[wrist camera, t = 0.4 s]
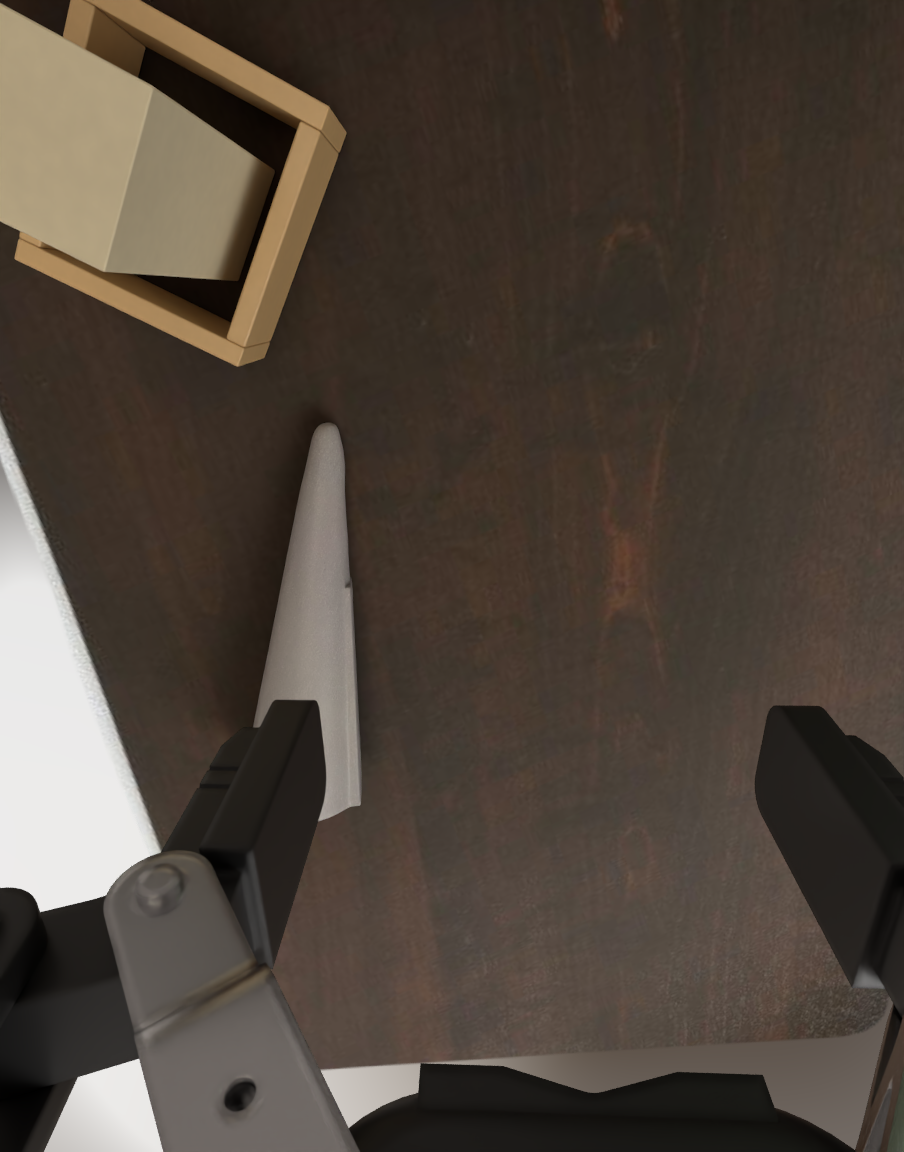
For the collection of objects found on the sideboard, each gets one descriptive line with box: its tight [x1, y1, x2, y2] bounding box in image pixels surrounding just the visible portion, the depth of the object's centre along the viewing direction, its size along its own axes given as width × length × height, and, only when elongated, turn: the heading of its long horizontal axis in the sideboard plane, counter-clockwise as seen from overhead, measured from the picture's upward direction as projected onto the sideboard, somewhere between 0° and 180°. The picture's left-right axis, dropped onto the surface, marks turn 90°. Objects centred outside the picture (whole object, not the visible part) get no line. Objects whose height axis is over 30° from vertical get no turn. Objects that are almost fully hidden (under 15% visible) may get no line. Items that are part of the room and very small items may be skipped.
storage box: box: [15, 0, 347, 366], centre depth 26 cm, size 10×9×4 cm
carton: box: [0, 3, 275, 281], centre depth 22 cm, size 5×5×12 cm
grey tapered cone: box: [253, 423, 362, 821], centre depth 33 cm, size 6×6×19 cm
